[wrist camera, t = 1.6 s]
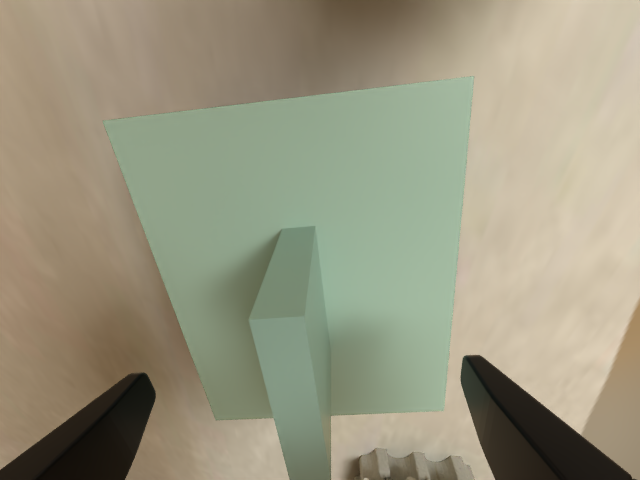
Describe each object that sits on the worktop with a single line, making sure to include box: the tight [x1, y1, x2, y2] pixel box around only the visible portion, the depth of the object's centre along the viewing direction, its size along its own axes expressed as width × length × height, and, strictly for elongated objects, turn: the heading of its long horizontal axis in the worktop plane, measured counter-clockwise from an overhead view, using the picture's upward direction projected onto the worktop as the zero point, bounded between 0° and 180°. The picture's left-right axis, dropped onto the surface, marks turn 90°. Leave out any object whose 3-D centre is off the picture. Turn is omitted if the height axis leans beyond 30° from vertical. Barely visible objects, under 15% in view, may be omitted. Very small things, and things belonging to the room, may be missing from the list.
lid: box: [103, 76, 474, 480], centre depth 11 cm, size 11×14×7 cm
